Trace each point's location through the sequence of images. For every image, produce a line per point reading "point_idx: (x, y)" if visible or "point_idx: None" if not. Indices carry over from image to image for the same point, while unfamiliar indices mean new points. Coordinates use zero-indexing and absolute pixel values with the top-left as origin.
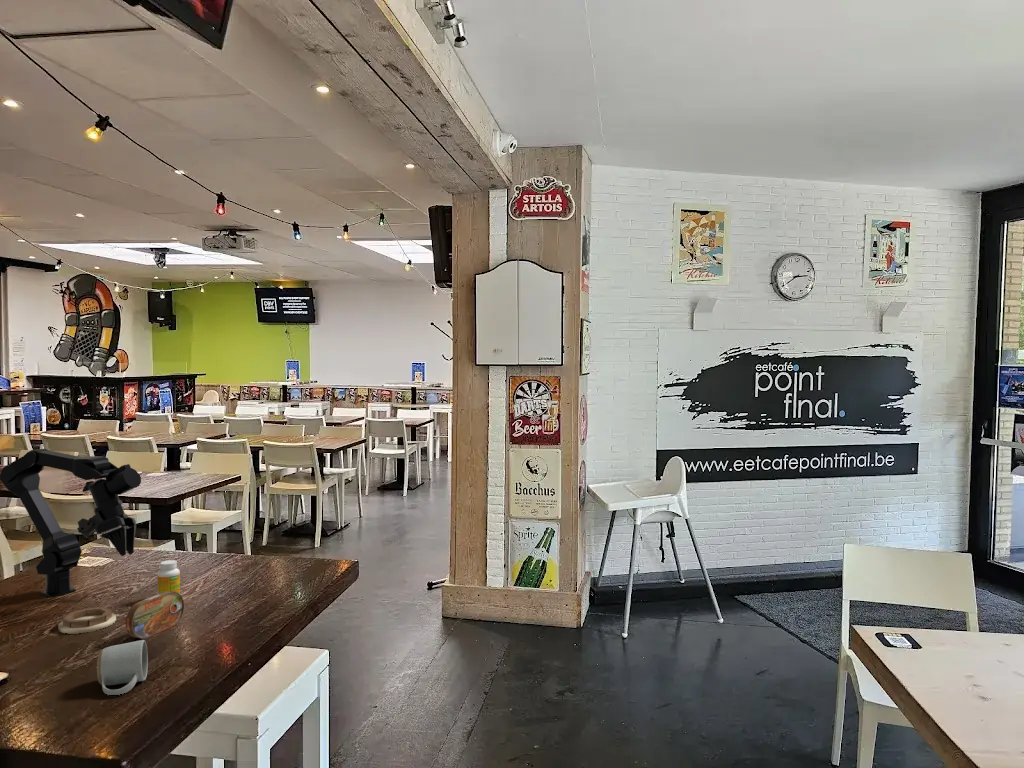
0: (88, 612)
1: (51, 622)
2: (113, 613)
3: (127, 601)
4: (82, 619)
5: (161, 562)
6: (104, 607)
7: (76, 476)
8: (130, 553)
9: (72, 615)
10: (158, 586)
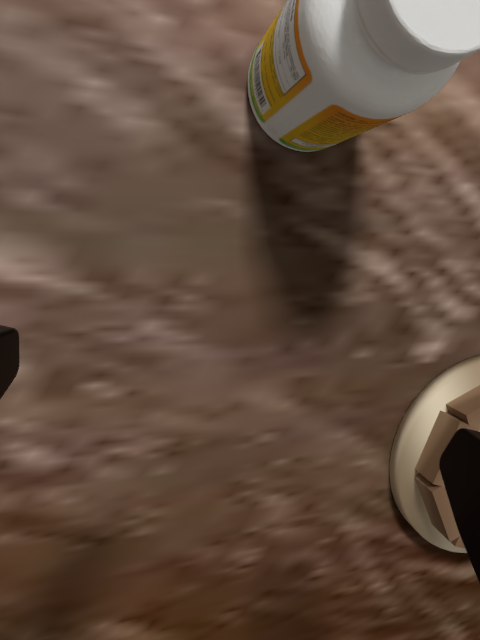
0: None
1: (372, 581)
2: (469, 369)
3: (245, 309)
4: None
5: (431, 38)
6: (467, 416)
7: None
8: (15, 360)
9: None
10: (352, 135)
